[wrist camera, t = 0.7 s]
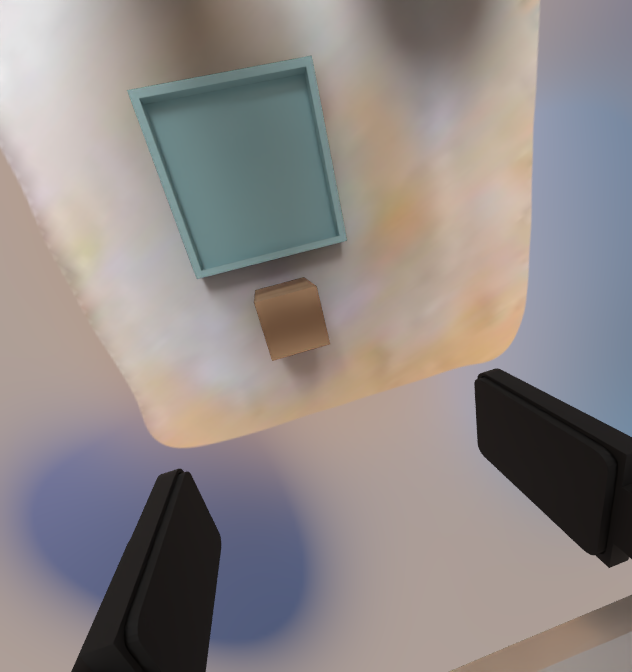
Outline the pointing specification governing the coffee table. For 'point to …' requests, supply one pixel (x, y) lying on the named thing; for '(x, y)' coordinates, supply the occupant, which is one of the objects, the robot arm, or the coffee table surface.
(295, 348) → the walnut block
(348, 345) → the coffee table surface
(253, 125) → the teal dish
